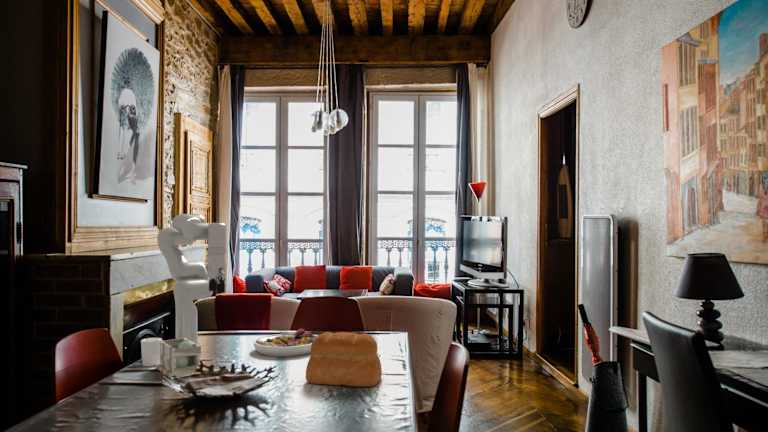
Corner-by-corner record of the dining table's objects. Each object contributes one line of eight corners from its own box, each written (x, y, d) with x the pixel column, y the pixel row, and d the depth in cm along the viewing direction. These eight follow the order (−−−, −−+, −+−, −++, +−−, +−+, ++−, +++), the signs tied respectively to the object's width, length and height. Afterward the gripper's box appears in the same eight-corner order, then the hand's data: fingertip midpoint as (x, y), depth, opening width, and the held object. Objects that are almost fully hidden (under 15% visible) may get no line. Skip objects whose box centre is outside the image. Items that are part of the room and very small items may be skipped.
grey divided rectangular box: (156, 367, 204) (156, 341, 204) (187, 362, 211) (187, 337, 211) (171, 379, 187) (171, 350, 187) (204, 373, 194) (204, 346, 195)
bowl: (301, 361, 214) (301, 342, 214) (240, 356, 223) (240, 337, 224) (331, 345, 242) (331, 329, 243) (275, 342, 252) (275, 325, 252)
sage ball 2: (174, 371, 196) (168, 358, 194) (187, 362, 199) (182, 350, 197) (178, 374, 191) (172, 362, 190) (192, 366, 195) (186, 354, 193)
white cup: (153, 367, 205) (154, 341, 205) (136, 366, 206) (136, 341, 207) (166, 362, 213) (166, 337, 213) (149, 361, 214) (149, 337, 214)
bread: (374, 389, 174) (374, 338, 174) (302, 385, 180) (302, 335, 180) (384, 376, 189) (384, 330, 190) (317, 373, 195) (317, 327, 196)
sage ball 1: (172, 347, 197) (184, 342, 202) (179, 360, 196) (191, 355, 201) (179, 341, 194) (191, 336, 199) (186, 354, 193) (198, 348, 198)
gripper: (201, 251, 224) (201, 290, 223) (215, 252, 210) (215, 294, 210) (218, 251, 228) (218, 289, 228) (233, 252, 215) (232, 293, 214)
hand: (216, 291), depth 219 cm, fingers open, 9 cm apart
